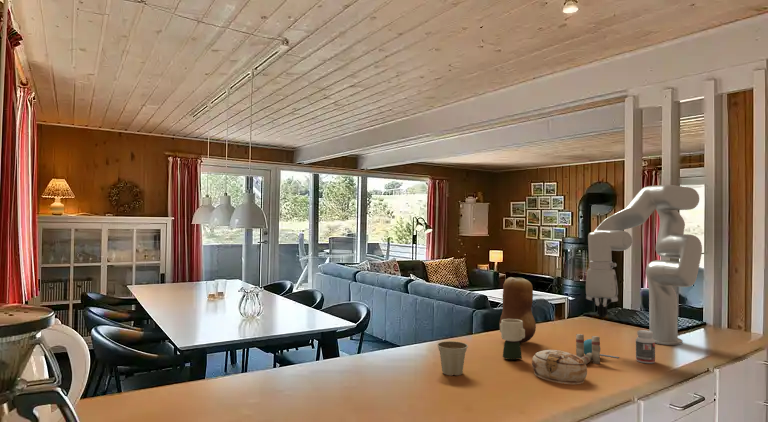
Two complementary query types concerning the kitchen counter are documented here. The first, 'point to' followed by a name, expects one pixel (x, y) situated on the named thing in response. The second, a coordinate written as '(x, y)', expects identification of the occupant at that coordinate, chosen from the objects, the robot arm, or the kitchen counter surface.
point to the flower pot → (452, 357)
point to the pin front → (587, 358)
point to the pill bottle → (645, 347)
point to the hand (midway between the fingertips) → (602, 316)
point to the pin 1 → (579, 345)
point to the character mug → (512, 337)
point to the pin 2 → (595, 349)
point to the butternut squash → (519, 304)
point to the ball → (588, 346)
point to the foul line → (609, 356)
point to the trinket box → (559, 367)
